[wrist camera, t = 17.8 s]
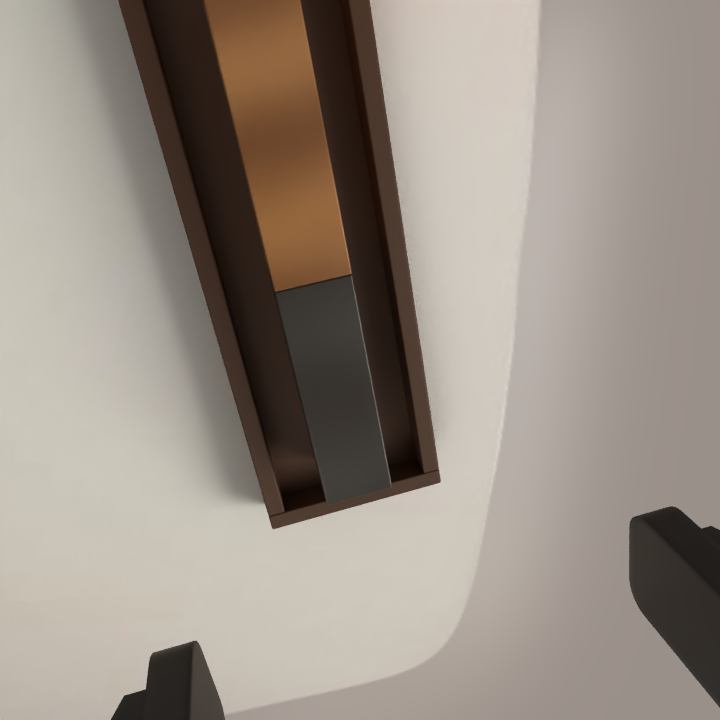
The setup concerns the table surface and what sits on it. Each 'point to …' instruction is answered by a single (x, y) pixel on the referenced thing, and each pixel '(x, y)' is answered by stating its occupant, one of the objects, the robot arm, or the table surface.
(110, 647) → the table surface
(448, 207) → the table surface
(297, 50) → the whetstone
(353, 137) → the tool tray
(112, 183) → the table surface
